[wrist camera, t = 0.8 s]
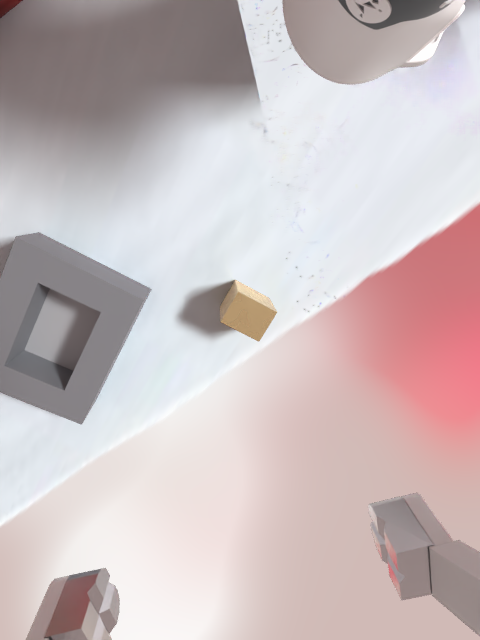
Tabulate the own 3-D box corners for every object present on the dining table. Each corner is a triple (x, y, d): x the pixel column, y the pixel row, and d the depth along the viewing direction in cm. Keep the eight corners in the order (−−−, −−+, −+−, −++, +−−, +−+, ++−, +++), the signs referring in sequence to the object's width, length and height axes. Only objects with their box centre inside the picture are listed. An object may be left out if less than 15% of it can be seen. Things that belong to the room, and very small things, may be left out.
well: (38, 232, 40) (15, 236, 36) (151, 289, 43) (143, 300, 39) (-11, 358, 45) (-37, 377, 40) (94, 402, 48) (81, 424, 43)
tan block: (235, 279, 44) (238, 291, 38) (269, 298, 45) (277, 312, 39) (219, 306, 45) (220, 322, 39) (253, 324, 46) (258, 341, 40)
